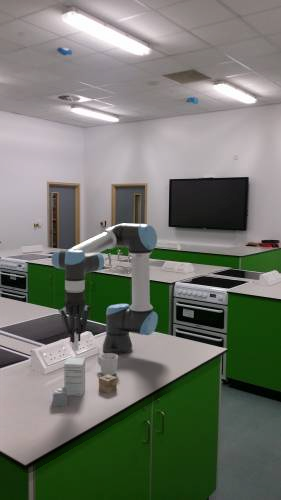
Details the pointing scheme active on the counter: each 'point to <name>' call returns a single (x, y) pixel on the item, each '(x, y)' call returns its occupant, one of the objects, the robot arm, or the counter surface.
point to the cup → (108, 363)
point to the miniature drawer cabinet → (74, 376)
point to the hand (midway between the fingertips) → (75, 349)
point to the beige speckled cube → (107, 383)
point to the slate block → (59, 396)
